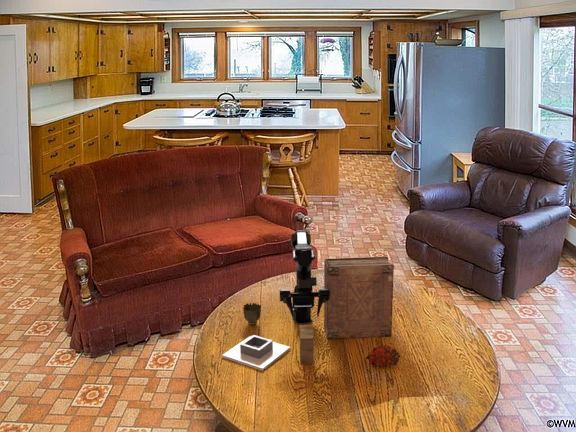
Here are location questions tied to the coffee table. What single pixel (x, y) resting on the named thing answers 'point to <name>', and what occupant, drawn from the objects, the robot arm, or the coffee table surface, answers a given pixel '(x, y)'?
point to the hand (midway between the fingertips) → (305, 316)
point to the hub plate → (256, 352)
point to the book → (358, 297)
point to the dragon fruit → (383, 356)
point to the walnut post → (306, 344)
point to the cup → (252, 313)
